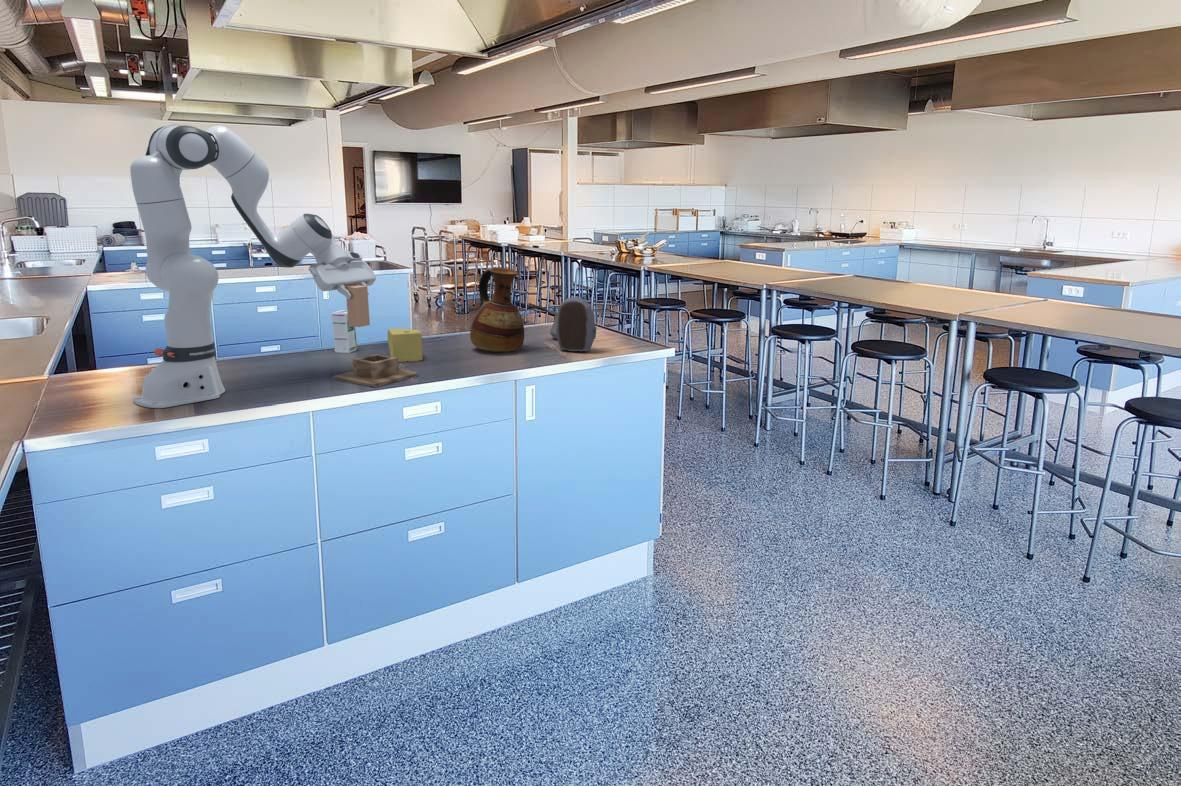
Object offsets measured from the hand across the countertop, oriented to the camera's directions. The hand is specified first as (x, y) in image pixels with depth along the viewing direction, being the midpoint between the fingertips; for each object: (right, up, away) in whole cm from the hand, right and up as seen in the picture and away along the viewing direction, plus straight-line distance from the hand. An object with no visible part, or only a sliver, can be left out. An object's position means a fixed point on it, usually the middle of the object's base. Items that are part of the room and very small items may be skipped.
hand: (358, 296), depth 225 cm
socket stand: (+5, -25, +3) cm, 25 cm away
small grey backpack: (+66, -14, +46) cm, 81 cm away
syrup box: (-17, -15, +39) cm, 45 cm away
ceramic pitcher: (+37, -14, +45) cm, 60 cm away
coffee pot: (+56, -9, +66) cm, 87 cm away
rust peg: (-1, -8, +3) cm, 9 cm away
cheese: (+7, -18, +29) cm, 35 cm away
